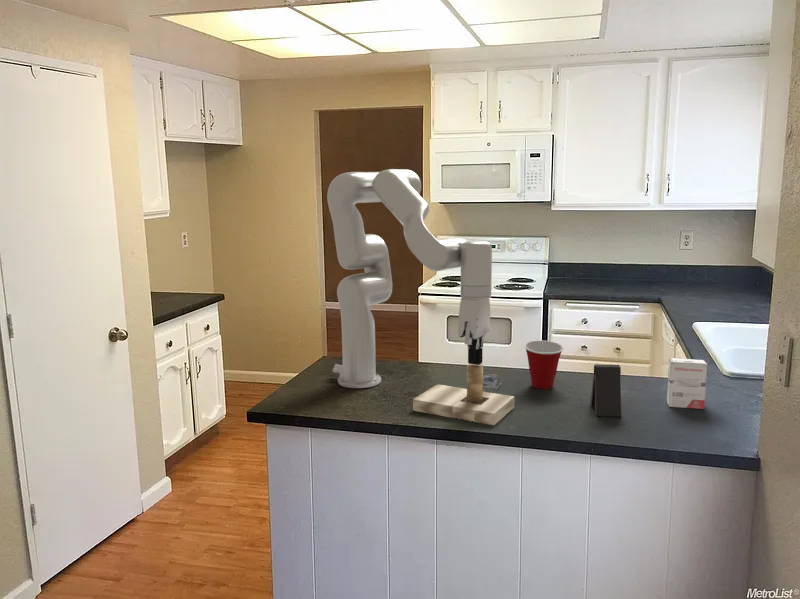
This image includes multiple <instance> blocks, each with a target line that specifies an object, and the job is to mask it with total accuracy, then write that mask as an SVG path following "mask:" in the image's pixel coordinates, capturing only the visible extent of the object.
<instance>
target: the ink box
mask: <svg viewBox="0 0 800 599" xmlns="http://www.w3.org/2000/svg"><path fill="white" fill-rule="evenodd" d="M707 370H708V364H707V362H706V361H705V360H704V359H691V358H674V357H673V358H672V357H670V358H669V359H668V372H667V373H668V375H667V376H668V377H667V392H666V403H667V406H668V407H669V408H670V407H671V408H684V409H699V410H705V405H706V404H705V403H706V391H707V389H706V386H707V376H708V375H707Z"/></svg>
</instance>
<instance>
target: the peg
mask: <svg viewBox="0 0 800 599" xmlns="http://www.w3.org/2000/svg"><path fill="white" fill-rule="evenodd" d="M483 376H484V365H483V363H481V364H480V365H475V364H469V363H468V364H466V389H467V399H466V400H467V401H468V403H472V404H478V405H481V402H482V401H483V392H484V388H483Z"/></svg>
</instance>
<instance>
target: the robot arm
mask: <svg viewBox="0 0 800 599" xmlns="http://www.w3.org/2000/svg"><path fill="white" fill-rule="evenodd" d="M421 191H422V182H421V179H420V177H419V176H418V174H417V173H416V172H414V171H413V170H410V169H407V168H405V169H404V168H402V169H401V168H400V169H397V168H389V169H384V170H380V171H348V172H343V173H340V174H338V175H336V177H334V178H333V179H332V181H331V182H330V184H329V185H328V188H327V194H326V198H327V205H328V209H329V213H330V217H331V221H332V225H333V226H332V227H333V235H334V241H335V242H334V243H335V247H336V248H335V249H336V256H337V260H338V263H339V265H340V266H341V268H342V269H345V270H350V271H354V270H360V269H363V270H364V272H361V273H355V274H351V275H348V276H346V277H344V278H342V280H340V281H339V284H338V285H337V289H336V296H337V300H338V305H339V311H340V318H341V319H340V320H341V321H340V323H341V348H342V349H341V351H342V353H341V354H342V355H341V356H342V364H337V363H335V364H334V365H333V368H332V373H336V374H339V377H338V378H337V383H338V385H340V386H341V387H344V388H347V389H348V388H349V389H367V388H372V387H375V386H377V385H380V384H381V383H382V377H381V375H379V374H378V373H377V372H376V365H377V364H376V326H375V325H376V324H375V318H374V315H373V312H372V311H371V309H370V306H373V305H378V304H380V303H384V302H386V301H388V300H389V299H390V297H391V296H392V294H393V277H392V268H391V261H390V255H389V249H388V246H387V244H386V242H385V241H384V239H383V238H382V237H381V236H379V235H377V234H375V233H374V234H373V233H367V234H366V232H365V226H364V220H363V217H362V214H361V212H360V211H359V209H358V208H357V206H356V204H366V203H367V204H368V203H383V205H384V206H385V207H386V208H387V209H388V211H390V212H391V214H392V215H393V216H394V217H395V219H397V220H398V222H399V223H400V224H401V225H402V227H403V235H404V236H403V237H404V239H405V242H406V246H407V248H408V250H410V252H411V254H413V256H415V258H416V259H417V260H418V261H419V262H420V263H421V264H422V265H423V266H424V267H426V268H428V270H430V271H433V272H440V271H446V270H451V269H457V268H460V298H461V299H460V303H459V309H458V310H459V311H458V325H457V330H458V331H457V335H458V338H464V345H467V347H466V348H467V362H468V364H475V365H480V364H483V350H484V349H483V347H484V339H485V337H486V335H487V334H488V333H489V332H490V329H491V303H490V302H491V301H490V299H491V298H492V278H493V277H492V273H493V272H492V271H493V270H492V268H493V267H492V266H493V265H492V264H493V263H492V262H493V260H492V259H493V246H492V244H491V242H489V241H487V240H469V239H464V238H460V237H453V238H444V239H443V238H442V239H437V238H436V237H435V236H434V235H433V234H432V233H431V232H430V231H429V229H428V228H427V227H426V225H425V224H424V220H425V219H426V218H427V216H428V214H429V212H430V206H429V204H428V202H427V201H426V200H425V198H423V197H422V196H421V195H420V194H421Z"/></svg>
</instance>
